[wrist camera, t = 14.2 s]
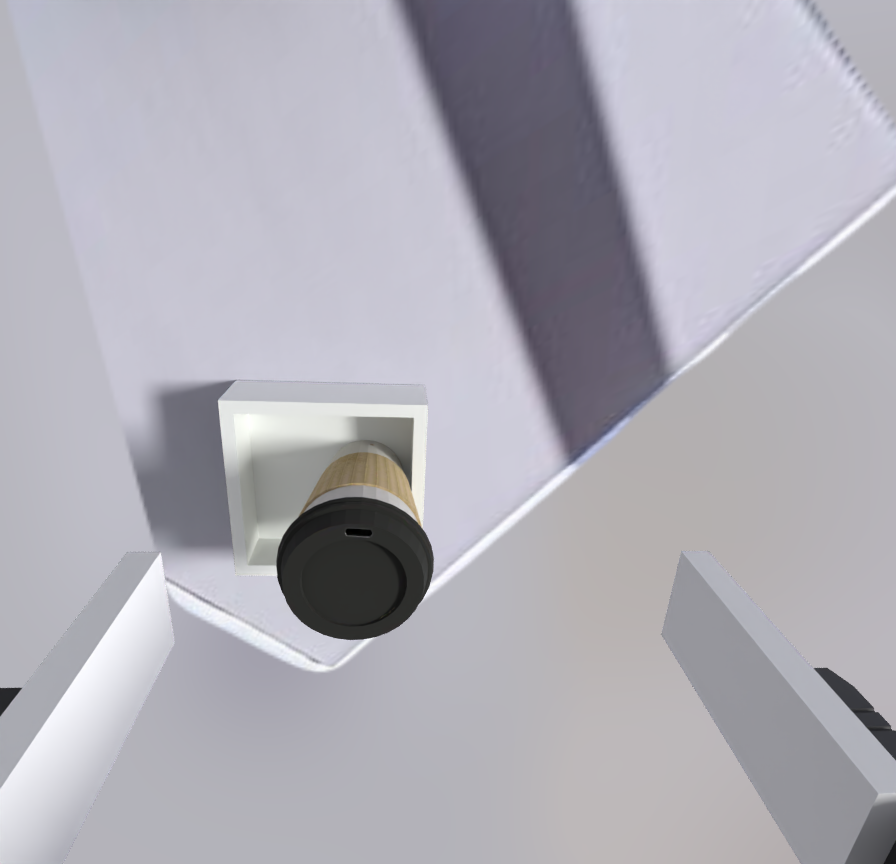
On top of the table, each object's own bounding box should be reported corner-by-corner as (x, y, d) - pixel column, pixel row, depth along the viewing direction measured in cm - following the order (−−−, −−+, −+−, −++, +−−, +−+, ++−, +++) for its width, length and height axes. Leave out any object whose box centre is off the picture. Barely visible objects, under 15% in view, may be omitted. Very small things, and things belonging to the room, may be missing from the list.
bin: (236, 380, 45) (217, 400, 41) (425, 385, 47) (427, 405, 42) (250, 541, 51) (235, 575, 46) (418, 541, 52) (420, 574, 48)
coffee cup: (304, 520, 49) (268, 645, 35) (309, 413, 46) (271, 506, 32) (417, 528, 50) (425, 651, 37) (431, 425, 47) (445, 519, 33)
